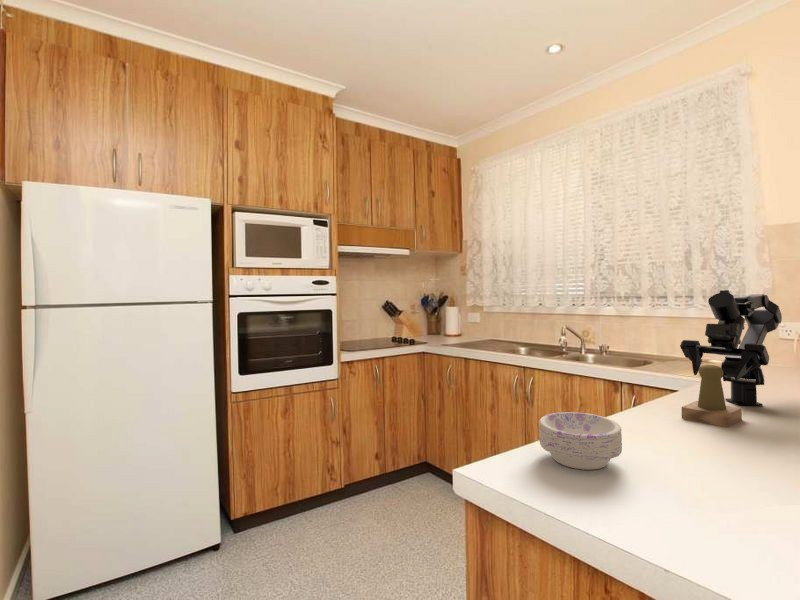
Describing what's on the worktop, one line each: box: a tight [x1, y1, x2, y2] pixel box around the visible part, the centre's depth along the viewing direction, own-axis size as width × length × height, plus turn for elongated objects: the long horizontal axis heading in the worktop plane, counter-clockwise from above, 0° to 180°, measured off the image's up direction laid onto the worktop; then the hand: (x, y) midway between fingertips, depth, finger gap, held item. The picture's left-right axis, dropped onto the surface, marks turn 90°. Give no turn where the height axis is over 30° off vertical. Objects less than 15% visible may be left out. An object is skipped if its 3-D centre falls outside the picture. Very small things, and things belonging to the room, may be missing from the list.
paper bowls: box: [538, 411, 623, 471], centre depth 84 cm, size 15×15×8 cm
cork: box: [697, 364, 727, 410], centre depth 109 cm, size 6×6×11 cm
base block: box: [681, 400, 743, 428], centre depth 109 cm, size 10×10×3 cm
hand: (714, 376), depth 111 cm, fingers open, 9 cm apart
